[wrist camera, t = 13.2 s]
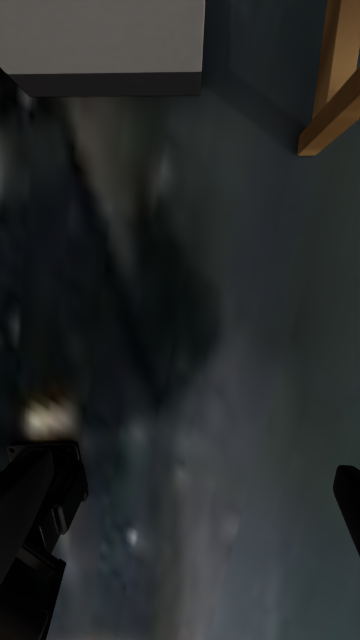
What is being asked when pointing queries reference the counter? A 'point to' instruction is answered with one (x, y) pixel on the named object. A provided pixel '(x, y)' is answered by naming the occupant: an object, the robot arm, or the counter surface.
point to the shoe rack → (335, 78)
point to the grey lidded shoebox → (103, 47)
